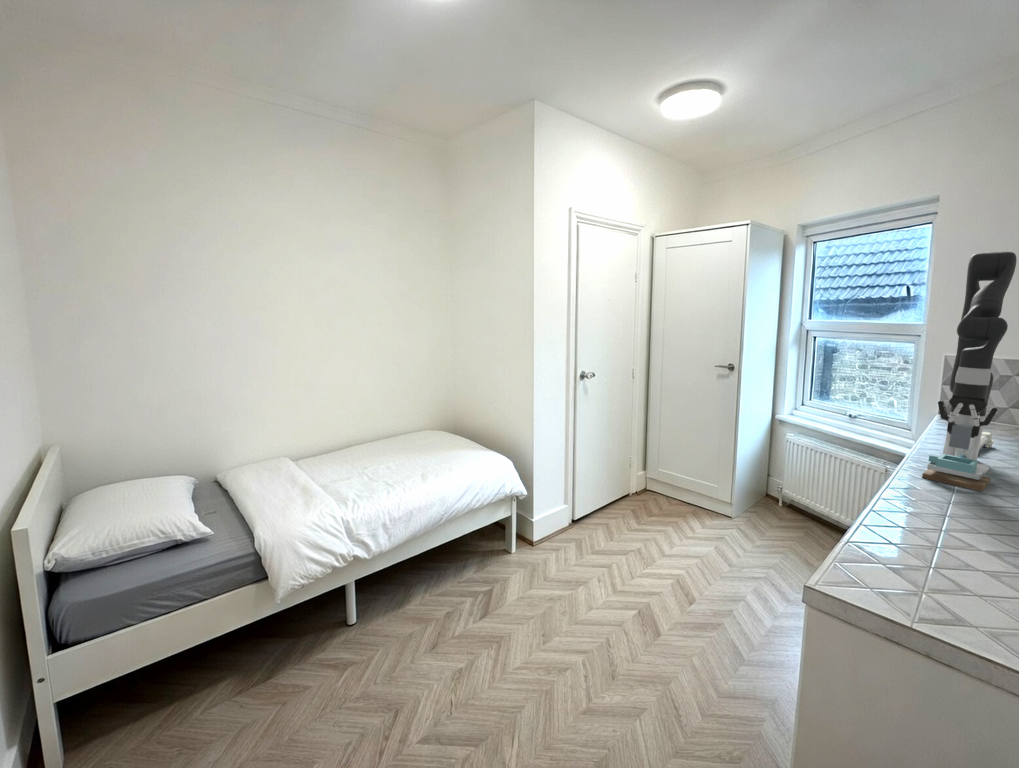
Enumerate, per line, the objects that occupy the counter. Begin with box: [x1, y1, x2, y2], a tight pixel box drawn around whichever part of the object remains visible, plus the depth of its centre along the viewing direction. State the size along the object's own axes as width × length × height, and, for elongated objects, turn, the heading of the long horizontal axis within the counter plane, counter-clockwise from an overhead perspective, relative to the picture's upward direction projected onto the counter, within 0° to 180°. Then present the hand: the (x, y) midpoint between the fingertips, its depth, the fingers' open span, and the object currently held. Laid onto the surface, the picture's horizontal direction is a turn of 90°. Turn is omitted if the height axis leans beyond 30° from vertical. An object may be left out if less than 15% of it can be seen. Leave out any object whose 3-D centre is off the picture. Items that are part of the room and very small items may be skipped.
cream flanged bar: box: [979, 431, 995, 450], centre depth 183 cm, size 5×7×25 cm
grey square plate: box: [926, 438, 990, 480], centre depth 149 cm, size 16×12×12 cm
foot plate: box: [921, 469, 992, 492], centre depth 150 cm, size 14×14×2 cm
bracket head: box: [928, 453, 979, 473], centre depth 148 cm, size 8×11×2 cm
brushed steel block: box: [949, 423, 973, 450], centre depth 145 cm, size 4×4×7 cm
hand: (961, 435), depth 145 cm, fingers closed on brushed steel block, 4 cm apart
